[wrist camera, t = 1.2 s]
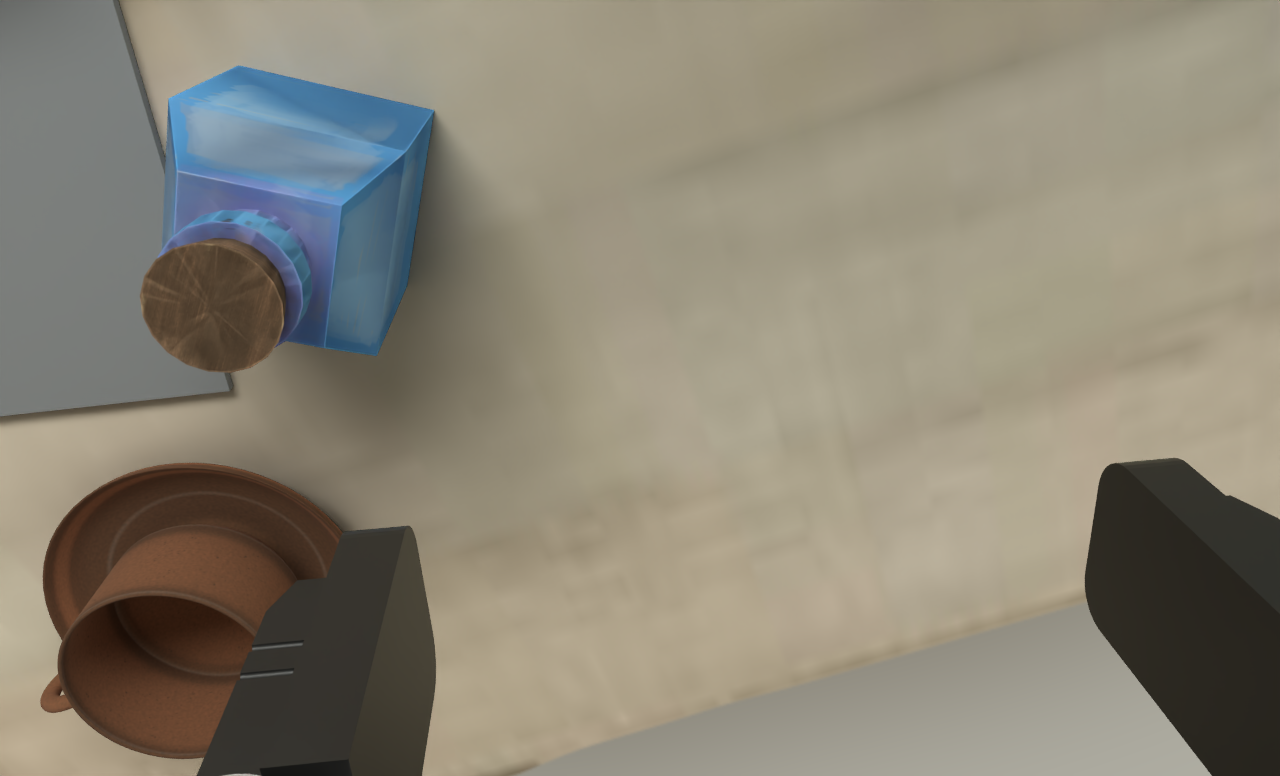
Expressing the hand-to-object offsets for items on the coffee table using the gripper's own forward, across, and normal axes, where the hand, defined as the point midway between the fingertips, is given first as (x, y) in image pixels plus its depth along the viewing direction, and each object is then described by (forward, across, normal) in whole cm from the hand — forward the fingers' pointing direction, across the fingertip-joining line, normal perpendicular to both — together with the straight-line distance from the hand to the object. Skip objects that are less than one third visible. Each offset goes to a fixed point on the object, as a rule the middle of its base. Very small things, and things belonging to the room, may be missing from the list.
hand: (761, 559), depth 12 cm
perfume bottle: (+25, +10, 0) cm, 27 cm away
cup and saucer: (+25, +17, +16) cm, 34 cm away
